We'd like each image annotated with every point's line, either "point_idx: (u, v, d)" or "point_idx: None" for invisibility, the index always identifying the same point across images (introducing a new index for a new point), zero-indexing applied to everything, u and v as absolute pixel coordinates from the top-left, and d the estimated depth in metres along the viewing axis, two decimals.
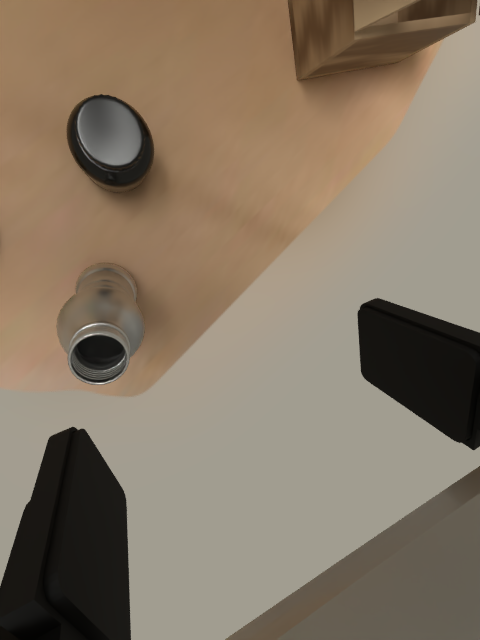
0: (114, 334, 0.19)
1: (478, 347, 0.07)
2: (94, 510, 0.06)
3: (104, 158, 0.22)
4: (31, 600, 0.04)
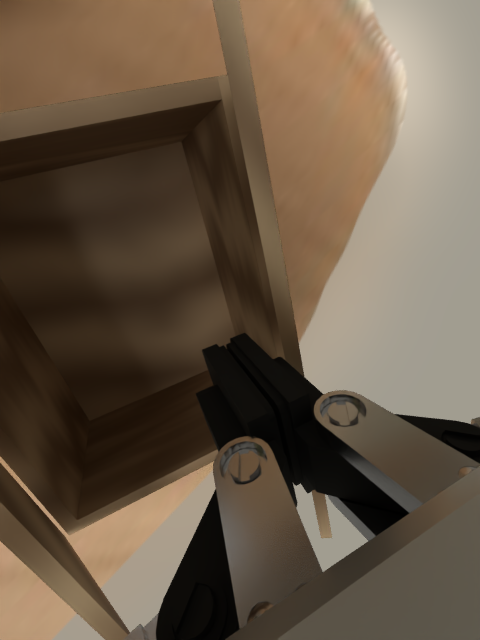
0: None
1: (283, 398, 0.07)
2: None
3: None
4: (264, 414, 0.06)
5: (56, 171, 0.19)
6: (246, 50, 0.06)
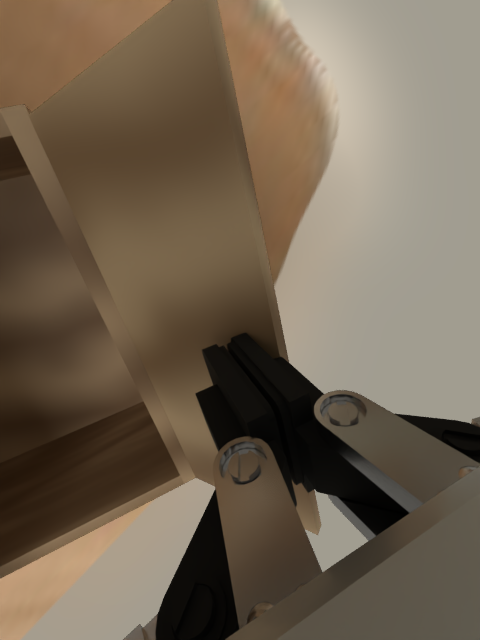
0: None
1: (284, 397, 0.07)
2: None
3: None
4: (263, 414, 0.06)
5: None
6: (228, 64, 0.07)
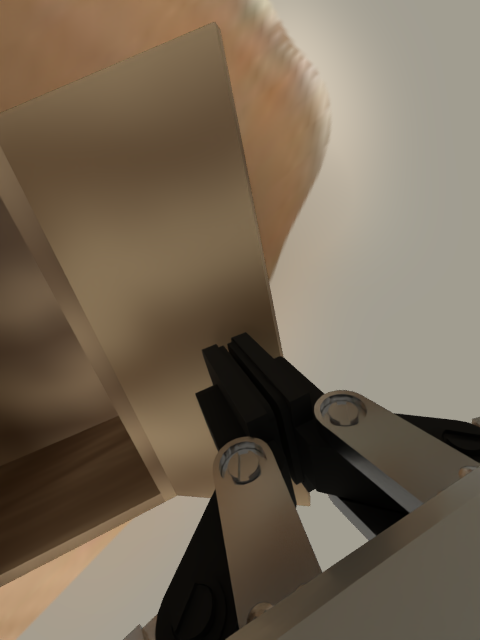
0: None
1: (284, 397, 0.07)
2: None
3: None
4: (263, 415, 0.06)
5: None
6: (230, 90, 0.08)
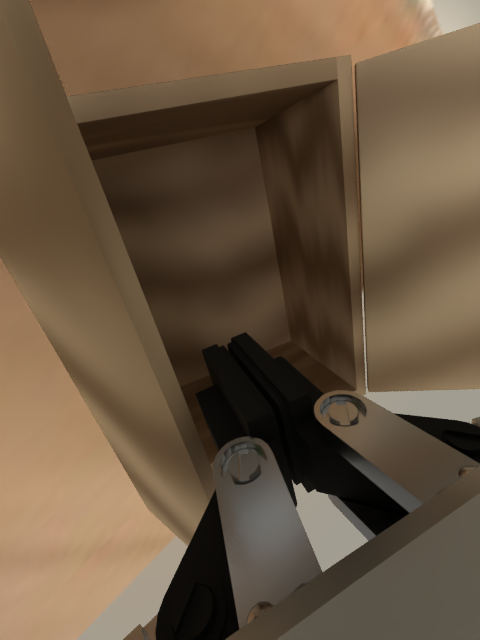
0: None
1: (284, 397, 0.07)
2: None
3: None
4: (263, 414, 0.06)
5: (141, 152, 0.19)
6: None
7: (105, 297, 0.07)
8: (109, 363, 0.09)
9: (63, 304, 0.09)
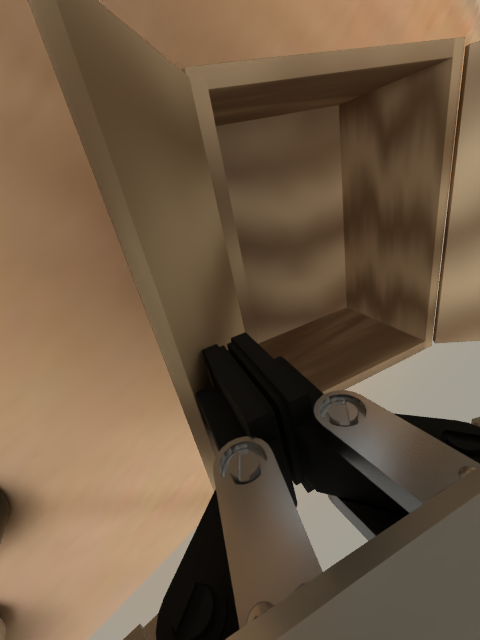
0: None
1: (284, 397, 0.07)
2: None
3: None
4: (264, 414, 0.06)
5: (246, 123, 0.22)
6: None
7: None
8: None
9: None
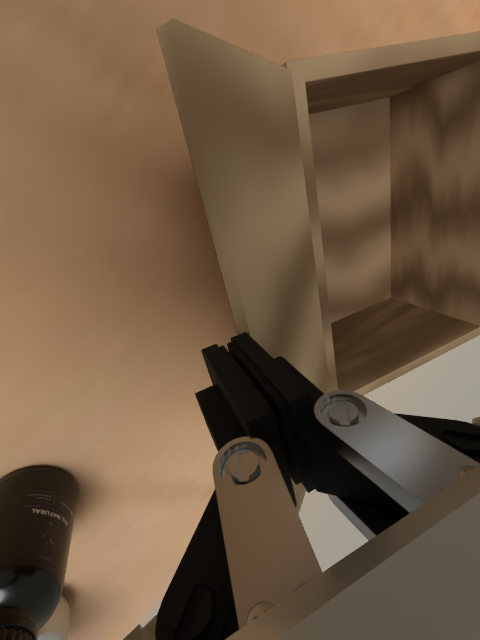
0: None
1: (284, 397, 0.07)
2: None
3: None
4: (263, 415, 0.06)
5: None
6: None
7: None
8: None
9: None
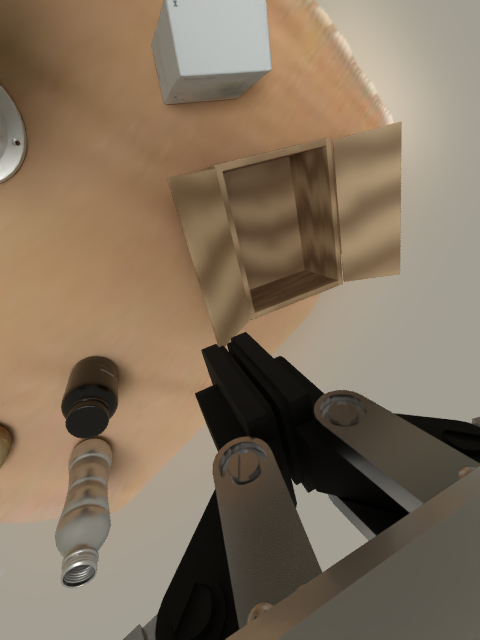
0: (87, 561, 0.33)
1: (284, 397, 0.07)
2: None
3: (83, 435, 0.36)
4: (263, 415, 0.06)
5: (240, 169, 0.43)
6: None
7: None
8: None
9: None
